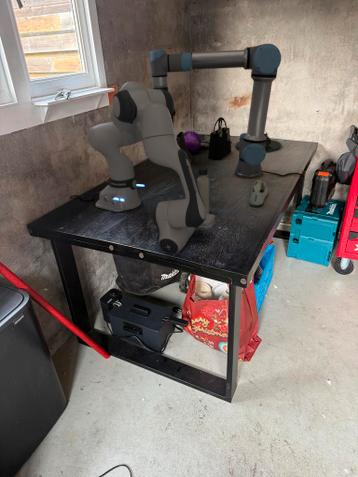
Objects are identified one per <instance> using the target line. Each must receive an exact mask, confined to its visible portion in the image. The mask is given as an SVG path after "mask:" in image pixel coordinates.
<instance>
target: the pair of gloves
mask: <svg viewBox="0 0 358 477" xmlns="http://www.w3.org/2000/svg"><path fill="white" fill-rule="evenodd" d="M203 139H204V140H201V145H200V148H199V149H202V148H208V149H209V142H210V135H209V136H208V135H207V134H205V135H204V137H203ZM230 141H231V144H232V142H233V141H232V140H230Z"/></svg>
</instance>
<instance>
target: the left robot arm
mask: <svg viewBox="0 0 358 477" xmlns="http://www.w3.org/2000/svg"><path fill="white" fill-rule="evenodd" d="M111 105H112V107H111V110H110V120H111V121H110V122H109V121H108V122H104V123H99V124H97V125H94V126H92V127H90V128H89V130H88V132H87V141H88V144H89V145H90V147H91V148H92V149H93V150H95V151H97V152H99V153H100V154H101V155H102V156H103V157H104V159H105V161H106V163H107V166H108V170H109V174H110V177H108V178H107V179H106V183H108V185H106V186H105V187H104V189H101V190H100V191H98V192H96V193H94V194H93V195H92V198H89V199H88V198H84V196H82V195H78V194H73V196H72V195H70V196H69V199H72V198H74V197H77V198H81V200H82V201H84V202H91V201H93V200H94V199H95V197H96V196H97V199H98V200H97V201H96V203H95V208H99V209H103V210H107V211H111V212H115V213H121V212H124V211H129V210H134V209H136V208H138V207H140V206H141V204H142V200H141V198H140V196H139V193H138V187H145V184H139V183H138V184H137V178H136V174H135V168H134V161H133V159H132V158H131V157H130V156H129V155H127V154H125V153H121V150H120V149H121V148H124V147H129V146H132V145H135V144H137V143H139V142H142V146H143V150H144V154H145V156H146V158H147V159H148V160H149V161H151V162H152V163H153V164H156V165H157V166H161V167H165V168H168V169H172V170H173V171H175V172H176V173H177V174H178V177H179V179H180V182H181V186H182V189H183V192H184V196H185V198H182V199H171V200H169V199H168V200H163V201H162V200H161V201H158V203H156V205H155V207H154V209H153V213H152V220H153V223H154V226H155V228H157V230H158V232H159V238H158V246H159V248H160V249H161V250H162V251H163V252H164V253H167V254H173V255H174V254H177V253H179V252H180V251H182V249H184V247H185V246H186V244H187V243H188V241H189V239H190V238H191V237H192V235H193V234H194V232H196V230H203V231H208V230H210V229H212V228H213V226H214V225H215V224H216V216H215V214H213V213H209V214H208V210H206V208H205V205H204V202H203V200H202V198H201V195H200V192H199V189H198V186H197V178H196V175H195V173H194V168H193V166H192V162H191V163H190V160H189V158H188V155H187V154H186V152H185V151H184V150H181V149H180V148H179V146H178V144H177V140H176V132H175V126H174V127H173V123H172V119H171V116H172V114H173V111H174V108H175V101H174V98H173V95H172V94H171V93H170V92H169V90H168V91H166V90H162V89H158V90H156V89H153V88H145V87H144V86H143V85H142V84H140V83H138V82H137V81H134V80H133V81H132V80H131V81H130V80H129V81H127V82H125V83H124V84H123V85H122V86H121V87H120V89H119V90H118V91H116V92H115V93H114V95H113V97H112V103H111Z"/></svg>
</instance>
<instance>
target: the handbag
mask: <svg viewBox="0 0 358 477" xmlns="http://www.w3.org/2000/svg"><path fill="white" fill-rule="evenodd" d="M223 123H224V126H223ZM216 127H218V128H217V129H216ZM230 129H231V128H230V127H228V124H227V122H226V120H225V118H224V117H222V116H219V117H218V118H217V119H216V121H215V123H214V126H213V129H212V130H211V131H210V134H209V136H210V142H209V144H208V145H209V148H208V151H207V158H208V159H211V160H218V161H219V160H222V159H224V158H225V157H226V156H229V154H231V153H232V143H231V141H232V140H231V137H232V136H231V131H230Z"/></svg>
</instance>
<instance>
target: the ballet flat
mask: <svg viewBox="0 0 358 477" xmlns="http://www.w3.org/2000/svg"><path fill="white" fill-rule="evenodd" d="M268 194H269V189H268V186H267V183H266V182H265V181H264V180H262V179H257V180H255V181H254V182H253V184H252V187H251V190H250V196H249V204H250V205H251V206H252V207H260V206H261V205H263V203H264V201H265V198H266V196H267V195H268Z"/></svg>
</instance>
